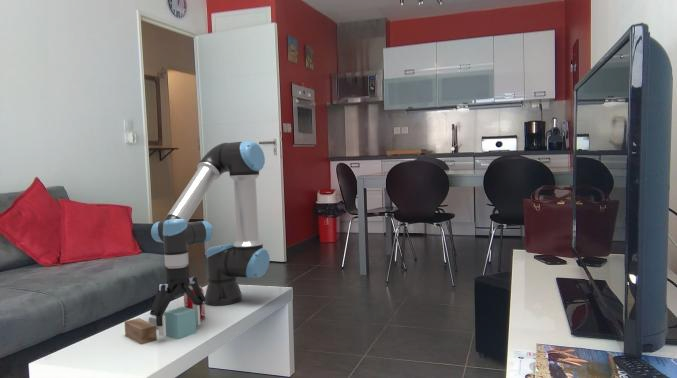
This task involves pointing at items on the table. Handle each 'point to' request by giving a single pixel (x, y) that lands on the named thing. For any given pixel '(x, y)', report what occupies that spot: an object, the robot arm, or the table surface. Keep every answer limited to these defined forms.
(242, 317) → the table surface
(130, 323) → the walnut bar
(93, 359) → the table surface
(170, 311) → the teal block
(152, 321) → the slate block
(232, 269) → the robot arm
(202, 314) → the soda can
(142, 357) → the table surface
